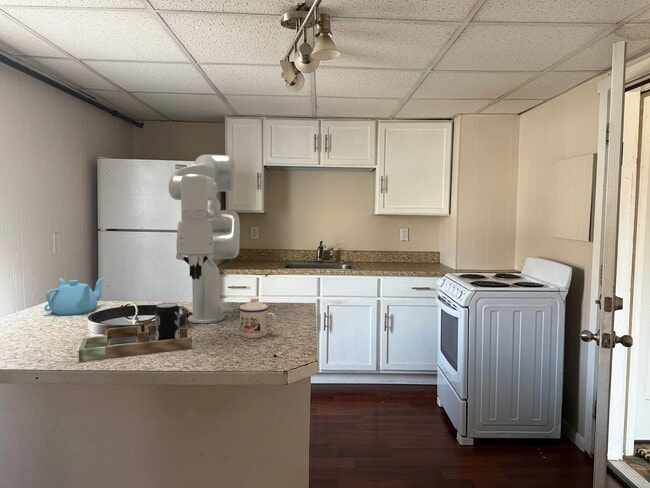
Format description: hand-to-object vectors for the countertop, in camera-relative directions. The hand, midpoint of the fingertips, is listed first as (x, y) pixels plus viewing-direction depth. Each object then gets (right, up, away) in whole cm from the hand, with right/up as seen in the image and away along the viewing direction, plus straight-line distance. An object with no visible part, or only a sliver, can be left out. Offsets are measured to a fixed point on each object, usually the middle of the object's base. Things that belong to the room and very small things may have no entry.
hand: (195, 278), depth 125 cm
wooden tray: (-16, -19, -2) cm, 25 cm away
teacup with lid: (+17, -19, +9) cm, 27 cm away
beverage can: (-7, -19, -2) cm, 21 cm away
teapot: (-58, -16, +39) cm, 72 cm away
